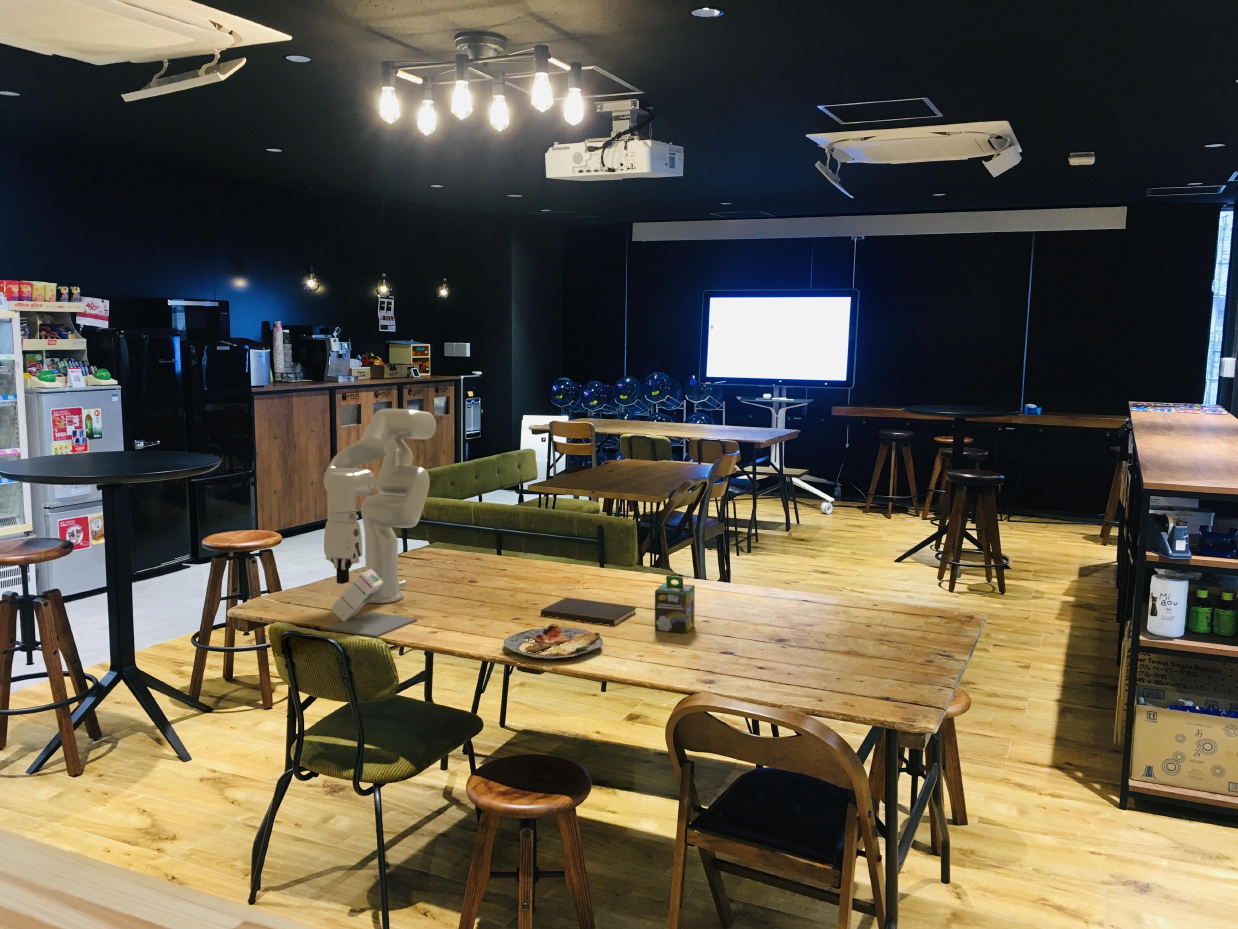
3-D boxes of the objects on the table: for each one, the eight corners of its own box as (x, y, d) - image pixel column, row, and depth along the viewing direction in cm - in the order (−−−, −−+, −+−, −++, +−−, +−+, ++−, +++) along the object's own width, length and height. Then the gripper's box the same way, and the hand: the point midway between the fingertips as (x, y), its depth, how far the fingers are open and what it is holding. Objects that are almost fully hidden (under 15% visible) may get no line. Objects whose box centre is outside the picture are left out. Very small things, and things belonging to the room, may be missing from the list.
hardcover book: (566, 605, 292) (566, 597, 292) (636, 614, 283) (636, 606, 282) (540, 617, 277) (540, 609, 277) (613, 628, 268) (613, 620, 268)
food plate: (554, 628, 264) (554, 616, 264) (620, 647, 250) (620, 633, 249) (486, 651, 245) (486, 638, 245) (554, 673, 231) (554, 659, 230)
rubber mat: (370, 613, 276) (370, 611, 276) (417, 620, 270) (417, 618, 270) (327, 629, 260) (327, 627, 260) (376, 637, 254) (376, 635, 254)
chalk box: (694, 625, 270) (696, 573, 268) (686, 634, 261) (687, 580, 260) (662, 622, 273) (664, 570, 271) (653, 630, 264) (654, 577, 263)
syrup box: (344, 623, 266) (375, 587, 263) (329, 607, 267) (360, 572, 263) (354, 617, 272) (385, 582, 268) (339, 602, 272) (370, 567, 269)
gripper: (372, 517, 266) (373, 583, 268) (329, 512, 272) (330, 577, 274) (354, 521, 259) (355, 588, 261) (311, 516, 266) (312, 582, 268)
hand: (342, 582), depth 268 cm, fingers closed
